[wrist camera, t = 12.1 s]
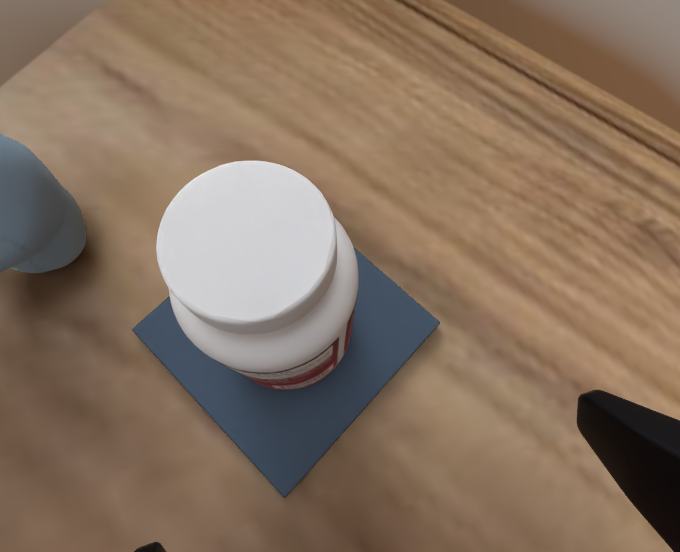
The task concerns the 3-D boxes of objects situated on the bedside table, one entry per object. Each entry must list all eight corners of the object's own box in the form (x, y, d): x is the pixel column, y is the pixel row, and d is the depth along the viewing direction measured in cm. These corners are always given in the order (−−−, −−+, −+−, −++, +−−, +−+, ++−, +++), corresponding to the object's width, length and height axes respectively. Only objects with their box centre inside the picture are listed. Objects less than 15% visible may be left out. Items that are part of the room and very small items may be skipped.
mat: (438, 325, 22) (440, 322, 21) (285, 496, 19) (284, 498, 19) (290, 196, 25) (289, 191, 24) (136, 331, 22) (131, 329, 21)
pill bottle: (272, 250, 23) (222, 100, 12) (372, 307, 22) (410, 197, 11) (201, 349, 21) (72, 271, 10) (308, 417, 20) (281, 405, 9)
